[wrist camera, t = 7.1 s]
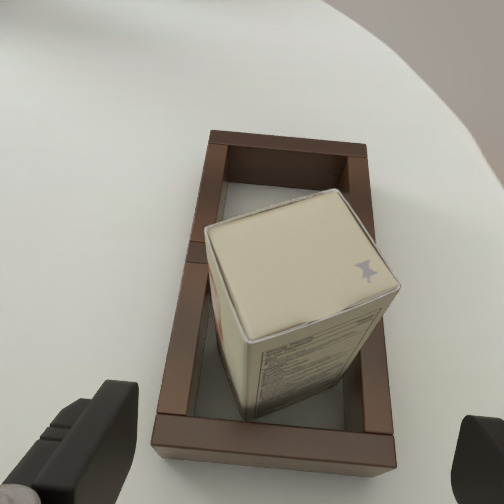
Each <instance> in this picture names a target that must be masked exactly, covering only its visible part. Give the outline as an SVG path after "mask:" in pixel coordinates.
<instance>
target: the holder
mask: <svg viewBox="0 0 504 504" xmlns="http://www.w3.org/2000/svg"><path fill="white" fill-rule="evenodd" d="M228 181H229V182H240V183H251V184H262V185H273V186H283V187H294V188H305V189H316V190H329V189H337V190H339V191H340V193H341V194H342V195H343V197H344V198H345V200H346V201H347V202H348V203H349V205H350V206H351V208H352V209H353V211H354V212H355V213H356V215H357V216H358V218H359V219H360V221H361V222H362V224H363V225H364V227H365V228H366V230H367V231H368V233H369V235H370V236H371V238H372V239H373V241H374V242H375V231H374V221H373V210H372V200H371V189H370V179H369V168H368V159H367V147H366V144H361V143H350V142H339V141H328V140H317V139H306V138H296V137H285V136H274V135H263V134H252V133H241V132H231V131H220V130H211V131H210V136H209V141H208V146H207V151H206V157H205V162H204V167H203V172H202V178H201V183H200V188H199V193H198V198H197V204H196V209H195V214H194V219H193V224H192V230H191V235H190V240H189V244H188V250H187V255H186V260H185V265H184V270H183V276H182V281H181V286H180V291H179V296H178V302H177V307H176V312H175V317H174V322H173V328H172V333H171V338H170V343H169V348H168V354H167V359H166V364H165V369H164V374H163V379H162V385H161V390H160V395H159V400H158V405H157V411H156V412H157V414H156V417H155V422H154V427H153V432H152V438H151V443H150V444H151V446H152V447H153V448H154V450H155V451H156V452H157V453H158V454H159V455H160V456H161V457H162V458H170V459H181V460H192V461H203V462H213V463H224V464H235V465H245V466H256V467H267V468H277V469H288V470H299V471H310V472H320V473H331V474H342V475H352V476H363V477H375V476H377V475H380V474H382V473H385V472H388V471H390V470H393V469H396V468H397V462H396V451H395V441H394V436H393V434H394V430H393V420H392V409H391V399H390V388H389V378H388V367H387V357H386V346H385V336H384V325H383V316H382V317H381V319H380V320H379V321H378V323H377V325H376V326H375V328H374V329H373V331H372V332H371V333H370V335H369V337H368V338H367V340H366V341H365V343H364V344H363V346H362V347H361V349H360V350H359V352H358V353H357V355H356V356H355V358H354V359H353V361H352V362H351V364H350V365H349V367H348V368H347V370H346V371H345V373H344V374H343V382H344V409H345V431H343V430H332V429H322V428H311V427H300V426H289V425H279V424H268V423H257V422H247V421H236V420H225V419H214V418H204V417H194V413H195V406H196V399H197V392H198V385H199V378H200V371H201V365H202V358H203V351H204V344H205V337H206V330H207V323H208V316H209V310H210V303H211V296H212V295H211V287H210V278H209V269H208V261H207V253H206V243H205V233H204V229H205V227H206V226H209V225H212V224H216V223H218V222H221V221H222V220H223V213H224V206H225V199H226V192H227V186H228ZM375 244H376V242H375Z"/></svg>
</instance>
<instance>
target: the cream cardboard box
mask: <svg viewBox="0 0 504 504" xmlns="http://www.w3.org/2000/svg"><path fill="white" fill-rule="evenodd" d="M204 233H205V243H206V253H207V261H208V269H209V278H210V287H211V295H212V303H213V311H214V320H215V329H216V337H217V345H218V349H219V352H220V355H221V358H222V361H223V365H224V368H225V371H226V374H227V377H228V380H229V383H230V386H231V389H232V392H233V395H234V398H235V401H236V404H237V407H238V409H239V412H240V415H241V418H242V419H243V421H251V420H254V419H256V418H259V417H261V416H264V415H267V414H270V413H272V412H275V411H277V410H280V409H282V408H285V407H287V406H290V405H292V404H294V403H297V402H299V401H302V400H304V399H306V398H309V397H311V396H313V395H315V394H318V393H320V392H322V391H324V390H327V389H329V388H331V387H333V386H335V385H337V383H338V382H339V380H340V379H341V377H342V376H343V374H344V373H345V371H346V370H347V368H348V367H349V365H350V364H351V362H352V361H353V359H354V358H355V356H356V355H357V353H358V352H359V350H360V349H361V347H362V346H363V344H364V343H365V341H366V340H367V338H368V337H369V335H370V333H371V332H372V331H373V329H374V328H375V326H376V325H377V323H378V321H379V320H380V319H381V317H382V316H383V314H384V313H385V311H386V310H387V308H388V307H389V305H390V304H391V302H392V301H393V299H394V297H395V296H396V294H397V293H398V292H399V290H400V287H401V285H400V283H399V281H398V279H397V278H396V276H395V274H394V273H393V271H392V270H391V268H390V266H389V265H388V263H387V262H386V260H385V258H384V257H383V255H382V254H381V252H380V250H379V249H378V247H377V246H376V244H375V242H374V241H373V239H372V238H371V236H370V235H369V233H368V231H367V230H366V228H365V227H364V225H363V224H362V222H361V221H360V219H359V218H358V216H357V215H356V213H355V212H354V211H353V209H352V208H351V206H350V205H349V203H348V202H347V201H346V200H345V198H344V197H343V195H342V194H341V193H340V191H339V190H337V189H329V190H325V191H321V192H318V193H315V194H310V195H307V196H303V197H299V198H295V199H292V200H289V201H285V202H282V203H278V204H274V205H271V206H268V207H265V208H261V209H258V210H254V211H251V212H248V213H245V214H242V215H239V216H235V217H233V218H229V219H227V220H224V221H221V222H218V223H216V224H212V225H209V226H206V227H205V229H204Z"/></svg>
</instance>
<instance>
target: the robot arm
mask: <svg viewBox="0 0 504 504" xmlns="http://www.w3.org/2000/svg"><path fill="white" fill-rule="evenodd" d="M138 397H139V387H138V383H137V382H128V381H117V380H106V381H105V382H104V383H103V384H102V386H101V387H100V388H99V390H98V391H97V393H96V394H95V395H94V397H93V398H92V399H82V398H80V399H78V400H77V401H75V402H73V403H72V404H70V405H69V406H67V407H65V408H64V409H62V410H61V411H60V412H59V414H58V415H57V416H56V417H55V419H54V420H53V421H52V422H51V424H50V427H47V429H46V430H45V431H44V432H43V434H42V435H41V436H40V439H39V440H37V441H36V442H35V443H34V445H33V446H32V447H31V448H30V450H29V451H28V452H27V453H26V455H25V456H24V457H23V458H22V460H21V461H20V462H19V463H18V465H17V466H16V467H15V468H14V470H13V471H12V472H11V473H10V474H9V476H8V477H7V478H6V479H5V481H4V482H3V483H2V484H1V485H0V504H115V503H116V500H117V498H118V496H119V493H120V491H121V489H122V486H123V484H124V482H125V479H126V477H127V475H128V472H129V470H130V468H131V465H132V462H133V458H134V454H135V449H136V441H137V421H138ZM451 485H452V490H453V494H454V497H455V499H456V501H457V503H458V504H504V421H503V420H502V419H500V418H494V417H483V416H473V415H467V416H465V417H464V419H463V420H462V423H461V427H460V432H459V436H458V441H457V446H456V450H455V455H454V460H453V464H452V469H451Z"/></svg>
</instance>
